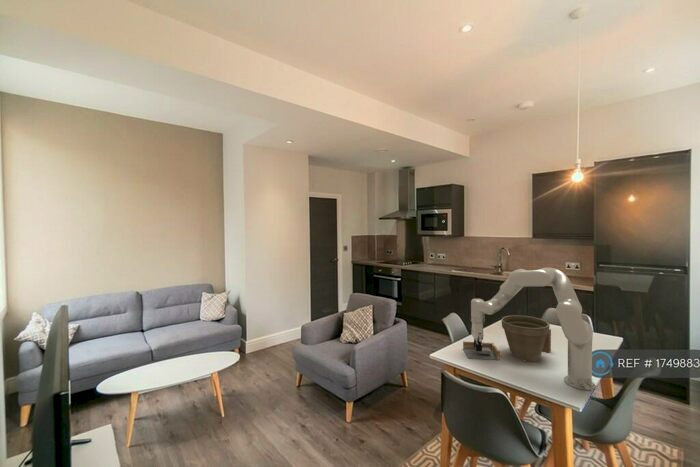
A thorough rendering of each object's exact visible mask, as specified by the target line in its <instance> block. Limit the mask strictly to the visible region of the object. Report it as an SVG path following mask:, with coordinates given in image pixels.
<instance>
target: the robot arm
mask: <svg viewBox="0 0 700 467" xmlns="http://www.w3.org/2000/svg"><path fill="white" fill-rule="evenodd" d="M549 285H550V286H552V287H551V288H552V290H553V293H554V295H555V297H556V301H557V306H556V307H555V312H556V316H557V320H558V322H559V324H560V326H561V330H562V332H563V334H564V337H565V338H566V339H567V375H565V376H564V377H563V381H564V382H565V384H567V385H569V386H571V387H573V388H575V389H578V390H581V391H582V390H585V391H594V390H596V387H597V385H596V383H595V382H594V381H593V373H592V372H593V371H592V370H593V358H592V357H593V339H594V336H593V335H594V333H593V332H594V331H593V327H592V325H591V324H590V323H589V322H587V321H586V320H584V319H583V317H582V313H583V307H582V304H581V302H580V301H579V298H578V295H577V294H576V291H575V290H574V287H573V284H572V282H571V280H570V278H569V277H568V276H567V275H566V274H565V273H564V271H561V270H559V269H557V268H554V267H543V268H540V269H535V270H533V269H532V270H526V269H524V268H517V269H515V270H513V271H512V272H510V273H509V275H508V278H507V279H506V280H505V281H504V282H503V283H502V284H501V285H500V286H499V290H498V292H497V293H496V294H495V295H494V296H493V297H492V298H490V299H489V300H487V301H484V299H482V298H472V299H471V301H470V313H471V314H470V321H471V336H472V337H473V342H474V347H475V340H476V341H477V344H476V351H482V342H483V340H484V324H485V322H486V321H485V320H486V319H485V315H488V316H489V315H490V316H491V315H494V314H495V313H497V312H499V311H500V310H501V309H503V308H504V307H505V306H506V305H507V304H508V303H509V302H510V301H511V300H512V299H513V298H514V297H515V295H517V294H518V292H520V291H521V290H522V289H523V288H528V287H530V288H533V287H534V288H536V287H537V288H541V287H546V286H549ZM478 338H479V339H478ZM478 340H479V341H478Z"/></svg>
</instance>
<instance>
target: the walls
mask: <svg viewBox="0 0 700 467" xmlns="http://www.w3.org/2000/svg"><path fill="white" fill-rule="evenodd" d="M482 347H484V348H490V350H491V351H492V352H493V353H494V354H495V356H496V357H497V359H498V360H497V361H500V360H501V351H500V350H499V348H498V347H497V346H496V345H495V344H494V342H483V341H482ZM462 348H463V349H462V350H463V351H464V349H473V350H475V347H474V341H465V340H463V341H462ZM499 359H500V360H499Z"/></svg>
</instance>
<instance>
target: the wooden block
mask: <svg viewBox="0 0 700 467" xmlns="http://www.w3.org/2000/svg"><path fill="white" fill-rule="evenodd" d="M542 352H543V353H544V352H545V353H551V352H552V329H550V328H549V333H548V334H547V336H546V340H545V343H544V346H543V350H542Z"/></svg>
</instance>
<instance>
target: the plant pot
mask: <svg viewBox="0 0 700 467" xmlns="http://www.w3.org/2000/svg"><path fill="white" fill-rule="evenodd" d="M550 327H551V326H550V323H549V322H548V321H547V320H544V319H542V318H538V317H534V316H530V315H529V316H528V315H515V314H514V315H506V316H503V317H502V318H501V328H502V329H503V330H504V334H505V338H506V341H507V342H506V343H507V345H508V348H509V352H510V353H511V357H513V358H515V359H517V360H519V361H522V362H523V361H524V362H532V363H533V362H537V361H539V360H540V359H541V355H542V353H543V351H542V350H543V346H544V343H545V340H546V336H547V334H548V333H549V330H550Z"/></svg>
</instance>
